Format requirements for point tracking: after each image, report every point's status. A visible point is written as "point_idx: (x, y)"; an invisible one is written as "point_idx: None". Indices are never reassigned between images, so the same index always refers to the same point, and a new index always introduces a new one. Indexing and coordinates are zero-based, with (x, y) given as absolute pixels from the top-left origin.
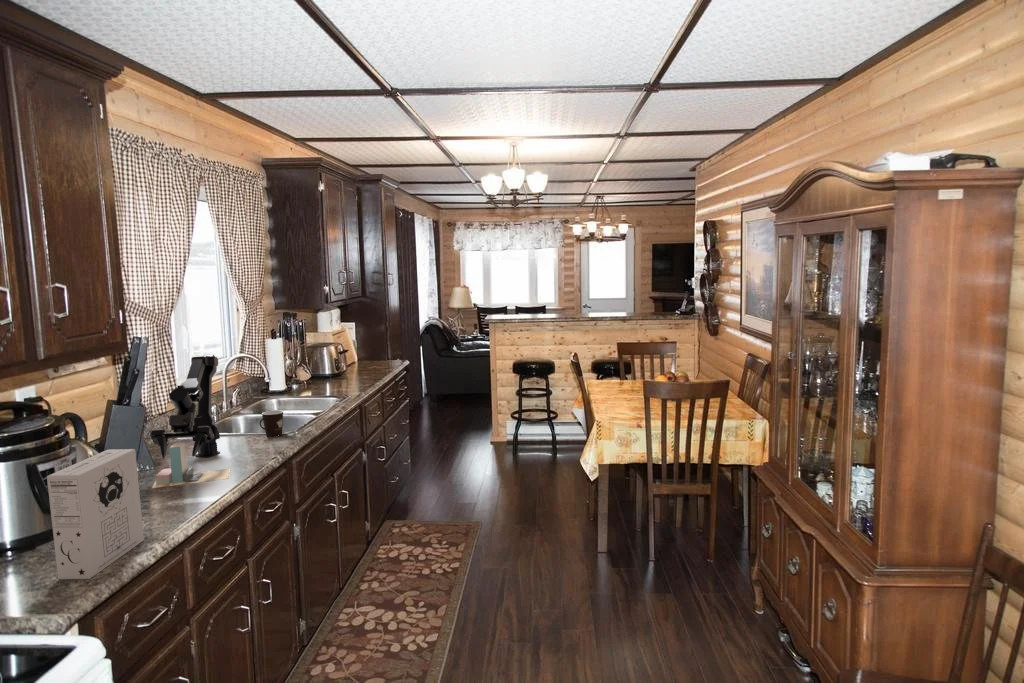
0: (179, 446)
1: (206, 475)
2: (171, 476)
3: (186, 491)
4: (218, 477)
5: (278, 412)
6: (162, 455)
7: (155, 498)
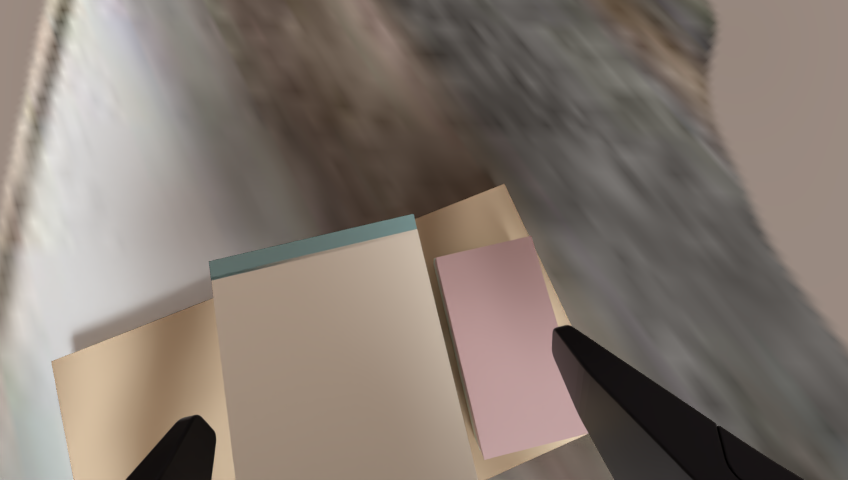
0: (230, 294)
1: None
2: (448, 317)
3: (287, 192)
4: (135, 393)
5: None
6: (582, 338)
7: (409, 90)
